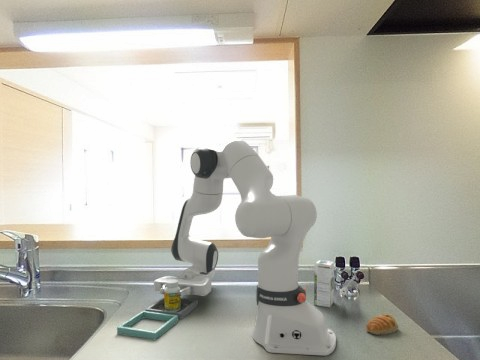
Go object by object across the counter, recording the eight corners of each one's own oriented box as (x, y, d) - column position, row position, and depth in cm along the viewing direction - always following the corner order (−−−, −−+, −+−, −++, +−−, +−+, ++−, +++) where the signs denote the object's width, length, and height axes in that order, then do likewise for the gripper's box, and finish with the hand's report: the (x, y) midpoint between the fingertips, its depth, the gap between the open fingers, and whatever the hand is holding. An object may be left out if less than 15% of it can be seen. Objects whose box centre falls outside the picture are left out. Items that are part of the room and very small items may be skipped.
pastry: (381, 339, 94) (380, 325, 94) (359, 330, 99) (359, 317, 99) (400, 330, 99) (400, 317, 99) (379, 322, 105) (378, 310, 105)
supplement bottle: (176, 305, 119) (176, 278, 119) (183, 310, 115) (182, 281, 115) (161, 309, 116) (161, 280, 116) (167, 314, 112) (167, 284, 112)
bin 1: (178, 321, 106) (177, 315, 106) (155, 339, 94) (155, 333, 94) (142, 316, 110) (142, 310, 110) (117, 333, 98) (117, 327, 98)
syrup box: (317, 299, 124) (317, 259, 124) (334, 302, 121) (334, 261, 121) (313, 305, 119) (313, 263, 118) (331, 308, 116) (331, 265, 116)
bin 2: (197, 305, 120) (197, 300, 120) (180, 319, 108) (180, 313, 108) (165, 301, 124) (165, 296, 124) (145, 314, 112) (145, 309, 112)
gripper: (165, 270, 131) (144, 280, 118) (214, 274, 125) (198, 286, 112) (165, 286, 131) (144, 299, 118) (215, 291, 125) (198, 305, 112)
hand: (170, 292), depth 115 cm, fingers closed on supplement bottle, 5 cm apart
